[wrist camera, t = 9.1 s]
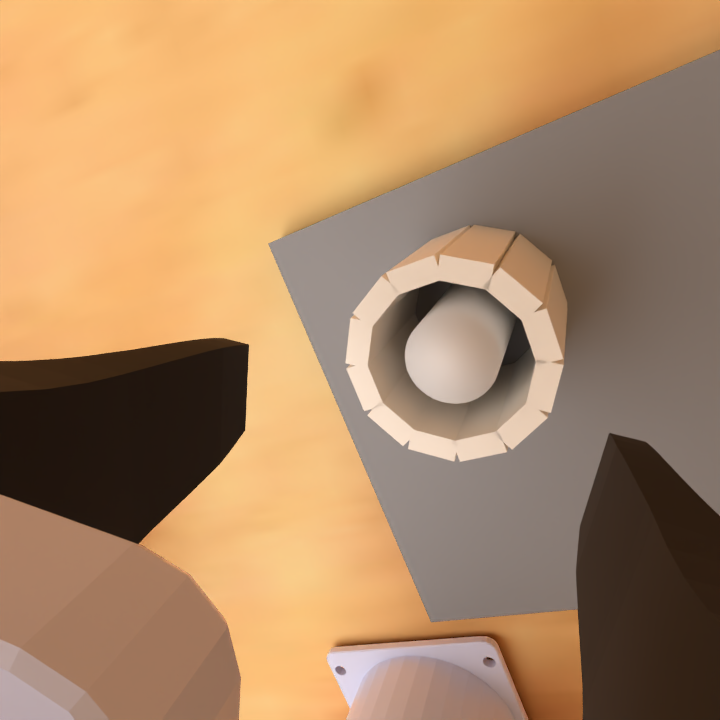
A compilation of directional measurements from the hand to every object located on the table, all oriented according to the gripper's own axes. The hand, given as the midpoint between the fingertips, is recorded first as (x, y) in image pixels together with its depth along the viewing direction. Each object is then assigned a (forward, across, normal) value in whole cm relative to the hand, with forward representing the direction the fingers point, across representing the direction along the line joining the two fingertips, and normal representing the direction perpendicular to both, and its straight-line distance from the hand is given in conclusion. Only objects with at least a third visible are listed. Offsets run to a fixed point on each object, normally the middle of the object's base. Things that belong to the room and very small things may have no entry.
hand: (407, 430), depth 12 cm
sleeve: (+8, 0, 0) cm, 8 cm away
